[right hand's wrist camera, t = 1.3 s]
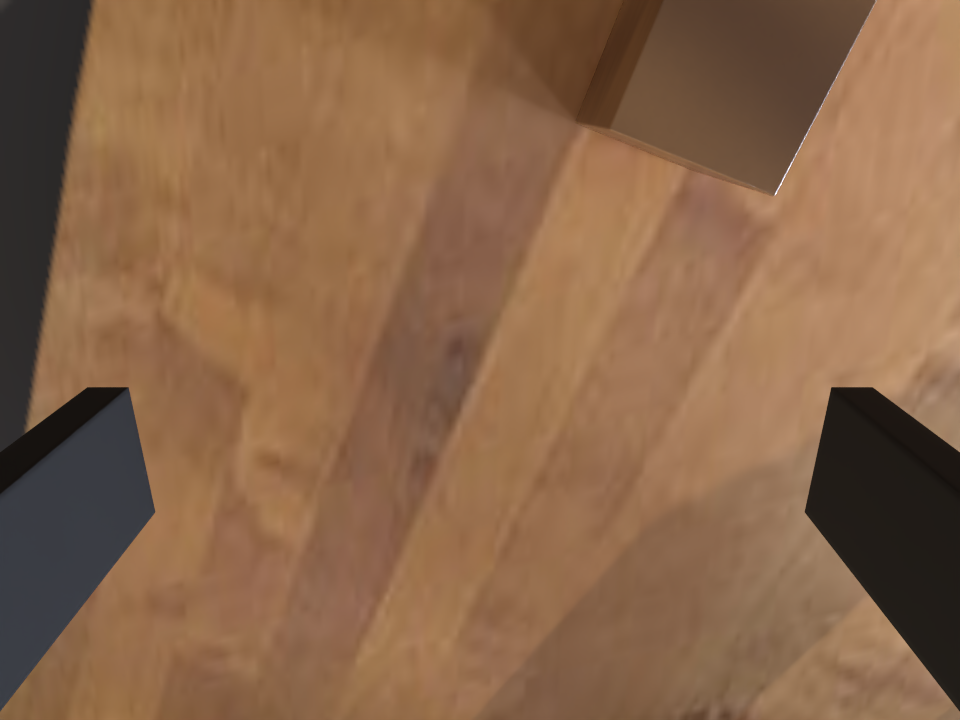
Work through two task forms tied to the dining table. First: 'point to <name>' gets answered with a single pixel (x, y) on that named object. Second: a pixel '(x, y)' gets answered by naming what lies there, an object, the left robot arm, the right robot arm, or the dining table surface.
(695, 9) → the post
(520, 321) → the dining table surface
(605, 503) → the dining table surface
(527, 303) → the dining table surface
